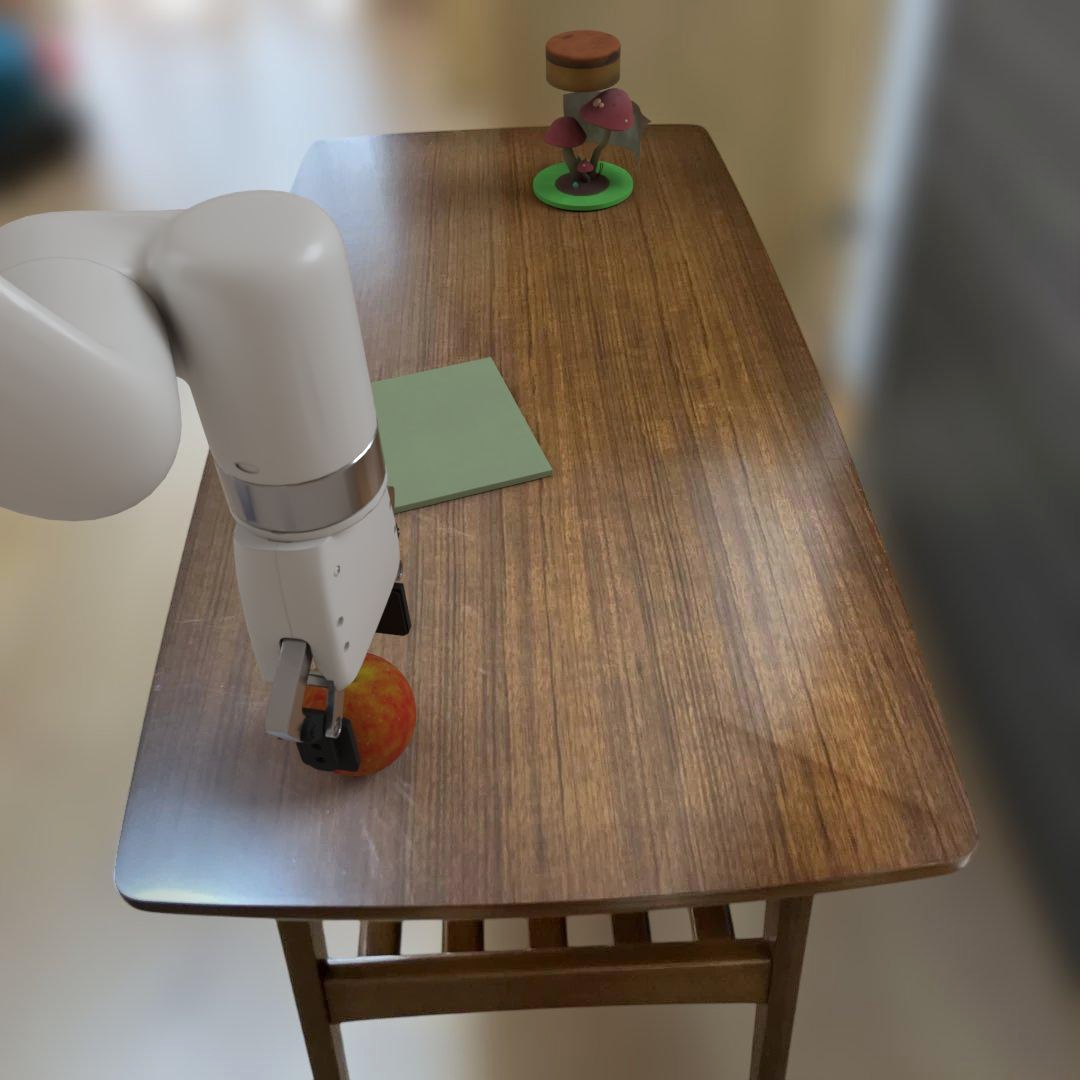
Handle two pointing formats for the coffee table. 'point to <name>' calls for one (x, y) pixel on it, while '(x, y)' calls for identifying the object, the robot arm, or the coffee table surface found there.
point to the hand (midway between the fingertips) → (360, 693)
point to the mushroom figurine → (588, 122)
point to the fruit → (374, 713)
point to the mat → (453, 434)
